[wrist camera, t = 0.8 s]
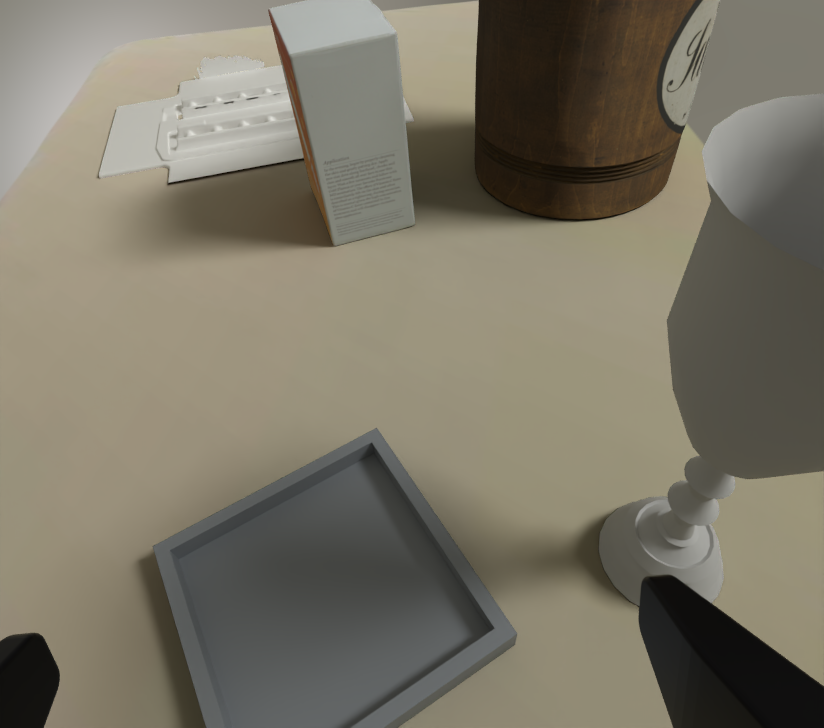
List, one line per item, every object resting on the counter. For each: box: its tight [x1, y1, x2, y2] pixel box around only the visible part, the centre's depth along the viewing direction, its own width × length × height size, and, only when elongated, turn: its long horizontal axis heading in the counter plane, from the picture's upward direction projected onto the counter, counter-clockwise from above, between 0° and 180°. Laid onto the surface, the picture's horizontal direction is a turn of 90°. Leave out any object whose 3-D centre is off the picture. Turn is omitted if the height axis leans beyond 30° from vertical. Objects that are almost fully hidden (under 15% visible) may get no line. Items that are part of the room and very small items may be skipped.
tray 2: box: [99, 55, 414, 183], centre depth 54 cm, size 20×28×4 cm
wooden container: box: [475, 0, 720, 219], centre depth 36 cm, size 15×15×22 cm
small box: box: [268, 0, 415, 246], centre depth 38 cm, size 8×6×13 cm
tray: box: [153, 428, 517, 728], centre depth 24 cm, size 11×11×2 cm
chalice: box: [599, 94, 824, 606], centre depth 18 cm, size 7×7×18 cm
